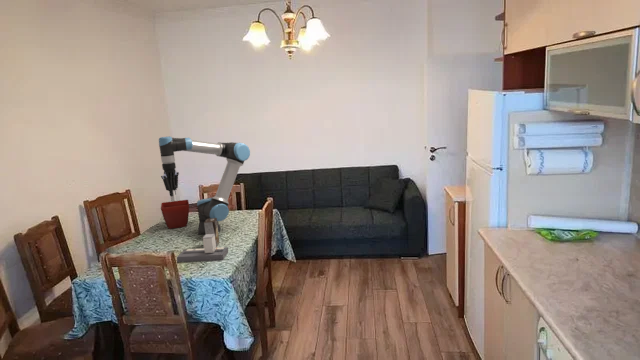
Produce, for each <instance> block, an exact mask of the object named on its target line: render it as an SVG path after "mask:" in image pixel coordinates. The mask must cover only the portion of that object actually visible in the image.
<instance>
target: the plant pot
mask: <svg viewBox="0 0 640 360" xmlns="http://www.w3.org/2000/svg"><path fill="white" fill-rule="evenodd" d="M160 205H161V206H160V210H161V214H162V217H163V220H164V223H165V225H166V227H167V229H169V230H171V229H176V228H185V227H187V226H188V223H189V215H190V202H189V199H182V200H176V201H166V202H165V201H164V202H161V203H160Z"/></svg>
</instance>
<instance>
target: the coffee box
mask: <svg viewBox="0 0 640 360" xmlns="http://www.w3.org/2000/svg"><path fill="white" fill-rule="evenodd" d="M204 226H205V234H215V241H216V248H218V246H219V244H220V236H219V232H218V225H217V218H210V219H206V221H205V222H204Z"/></svg>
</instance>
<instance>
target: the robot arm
mask: <svg viewBox="0 0 640 360" xmlns="http://www.w3.org/2000/svg"><path fill="white" fill-rule="evenodd" d="M158 147H159V151H160V159H161V163H162V164H161V167H162V170H163V175H161V176H160V177H161V179H162V182H163V185H164V187H165V190H166V191H168V192H169V196H170V202H172V201H177V193H176V191H178V190H177V189H178V187H179V186H178V184H179V175H180V173H179V172H178V171H176V168H177V166H176V162H175V161H176V159H175V152H189V153H199V154H208V155H215V156H216V157H221V158H225V160H226V166H225V168H224V171H223V173H222V176H221V179H220V182H219V185H218V186H217V190H216V193H215V194H214V196H212V197H208V198H202V199H199V200H198V201H197V202H196V206H197V207H196V208H197V213H198V214H197V215H198V220H199V223H198V228H197V233H198V235H203V236H205V235H206V234H205V226H204V222H205V221H206V219H210V218H217V225H218V233H219V232H220V231H222V229H221V225H220V224H219V222H223V221H224V220H226V219H227V217H228V216H229V212H230V210H229V201H228V199H229V197H230V194H231V192H232V189H233V188H234V184H235V182H236V181H235V180H236V178H237V177H238V176H237V175H238V172H239V170H240V167H242V166H244V164H245V161H247V160H248V159H249V158H250V156H251V150H250V148H249V146H248V145H247V144H245V143H243V142H220V141H219V142H216V143H215V142H207V141H201V140H200V141H199V140H193V139H191V138H190V137H172V136H160V137H159V138H158Z"/></svg>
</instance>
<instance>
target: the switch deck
mask: <svg viewBox="0 0 640 360" xmlns="http://www.w3.org/2000/svg"><path fill="white" fill-rule="evenodd" d="M228 253H229V247H227V246H225V247H223V246H221V247H216V250H215V251H214V253H205V251H204V247H203V248H188V249H185V248H184V249H183V250H182V252H180V253H179V254H178V255H177V256H176V261H177V263H187V262H188V263H189V262H203V261H222V260H224V259H226V256H227V255H228Z"/></svg>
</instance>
